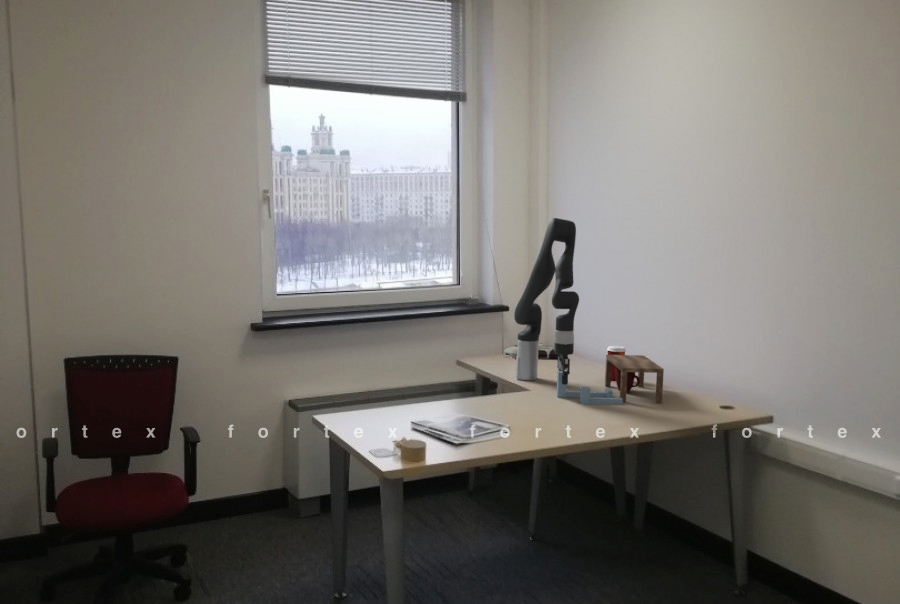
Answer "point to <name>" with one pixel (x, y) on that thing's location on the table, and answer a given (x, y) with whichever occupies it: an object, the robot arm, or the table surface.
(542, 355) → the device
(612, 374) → the coffee cup
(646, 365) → the small wooden table
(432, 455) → the table surface
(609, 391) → the light blue l-shaped bar
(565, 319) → the robot arm
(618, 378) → the mug
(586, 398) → the blue l-shaped block
